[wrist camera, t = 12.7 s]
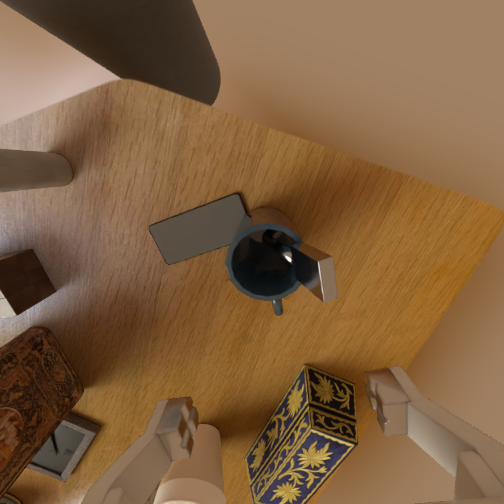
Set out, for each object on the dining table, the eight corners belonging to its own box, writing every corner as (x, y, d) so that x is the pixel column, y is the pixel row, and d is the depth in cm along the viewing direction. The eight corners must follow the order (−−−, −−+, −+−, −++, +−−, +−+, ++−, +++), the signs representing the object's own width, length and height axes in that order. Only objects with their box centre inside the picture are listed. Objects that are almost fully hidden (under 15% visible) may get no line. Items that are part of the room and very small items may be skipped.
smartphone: (146, 226, 36) (238, 192, 33) (149, 225, 37) (239, 191, 34) (167, 266, 38) (255, 236, 36) (169, 264, 39) (255, 234, 36)
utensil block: (-11, 258, 39) (-66, 276, 32) (32, 248, 38) (-16, 265, 31) (16, 299, 41) (-31, 324, 35) (56, 291, 41) (17, 315, 34)
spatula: (257, 226, 35) (318, 261, 19) (266, 224, 35) (333, 256, 19) (263, 251, 36) (324, 303, 20) (272, 249, 36) (338, 298, 21)
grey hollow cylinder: (50, 189, 35) (-31, 197, 25) (35, 156, 33) (-58, 151, 24) (78, 182, 34) (6, 188, 25) (64, 149, 33) (-18, 142, 23)
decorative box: (244, 458, 54) (241, 512, 45) (304, 363, 44) (315, 410, 36) (287, 471, 55) (292, 527, 46) (355, 382, 45) (377, 431, 37)
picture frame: (28, 394, 49) (5, 448, 55) (19, 403, 47) (-4, 458, 54) (100, 426, 52) (70, 474, 58) (94, 435, 50) (63, 484, 56)
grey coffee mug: (229, 214, 35) (216, 233, 25) (289, 200, 34) (302, 215, 24) (248, 288, 39) (244, 331, 29) (302, 278, 38) (318, 319, 28)
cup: (244, 435, 51) (239, 525, 38) (208, 460, 54) (192, 551, 42) (200, 405, 49) (179, 491, 36) (165, 433, 52) (134, 521, 39)
